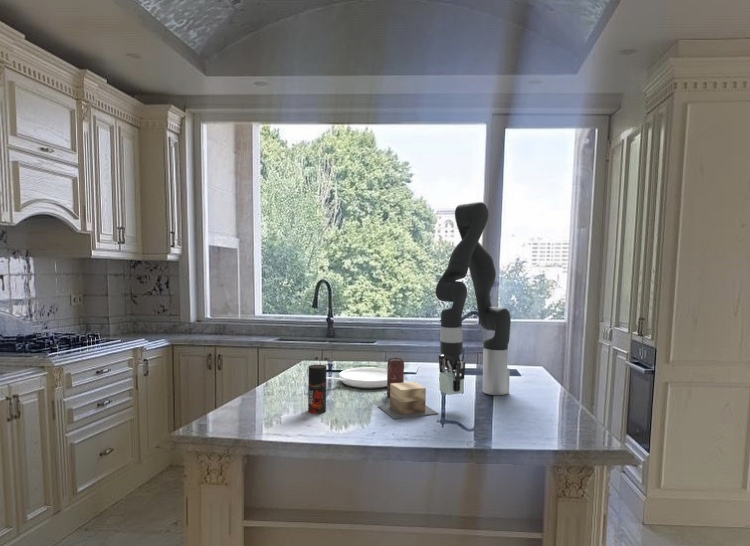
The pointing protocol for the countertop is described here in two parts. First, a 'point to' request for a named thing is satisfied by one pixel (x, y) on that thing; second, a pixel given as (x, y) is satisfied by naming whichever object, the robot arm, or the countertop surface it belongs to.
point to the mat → (396, 415)
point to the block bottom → (407, 406)
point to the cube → (449, 384)
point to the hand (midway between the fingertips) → (451, 388)
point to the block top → (407, 391)
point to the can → (394, 372)
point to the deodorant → (317, 389)
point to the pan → (364, 377)
